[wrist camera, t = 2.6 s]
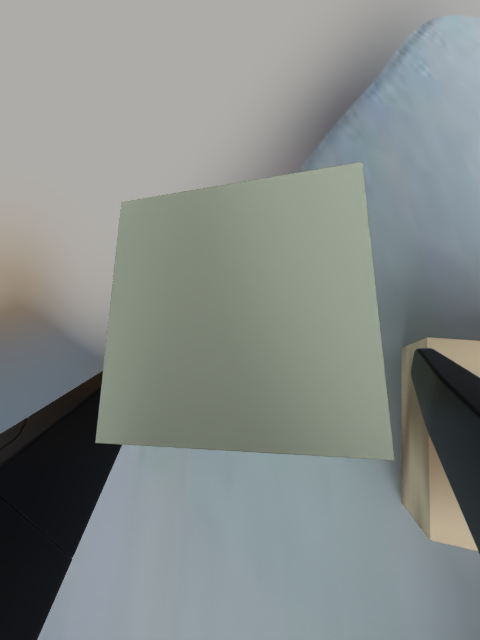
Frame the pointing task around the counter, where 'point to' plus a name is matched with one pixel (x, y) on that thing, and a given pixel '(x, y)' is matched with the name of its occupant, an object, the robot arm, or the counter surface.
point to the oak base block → (432, 452)
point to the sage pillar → (248, 321)
